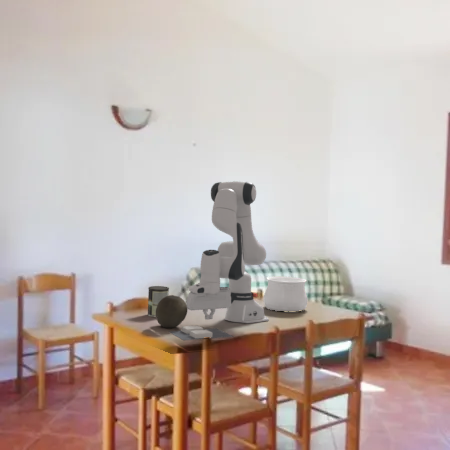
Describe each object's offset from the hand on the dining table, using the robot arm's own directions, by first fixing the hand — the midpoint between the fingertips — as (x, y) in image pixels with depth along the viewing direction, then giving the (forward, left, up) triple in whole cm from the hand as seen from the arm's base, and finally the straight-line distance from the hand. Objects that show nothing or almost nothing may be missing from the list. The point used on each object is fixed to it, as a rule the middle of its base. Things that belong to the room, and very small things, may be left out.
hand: (208, 319), depth 276 cm
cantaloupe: (+8, -22, -8) cm, 25 cm away
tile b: (0, 0, -6) cm, 6 cm away
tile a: (0, -9, -6) cm, 11 cm away
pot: (-72, -49, -8) cm, 87 cm away
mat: (+1, -4, -8) cm, 9 cm away
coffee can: (+3, -51, -8) cm, 52 cm away
